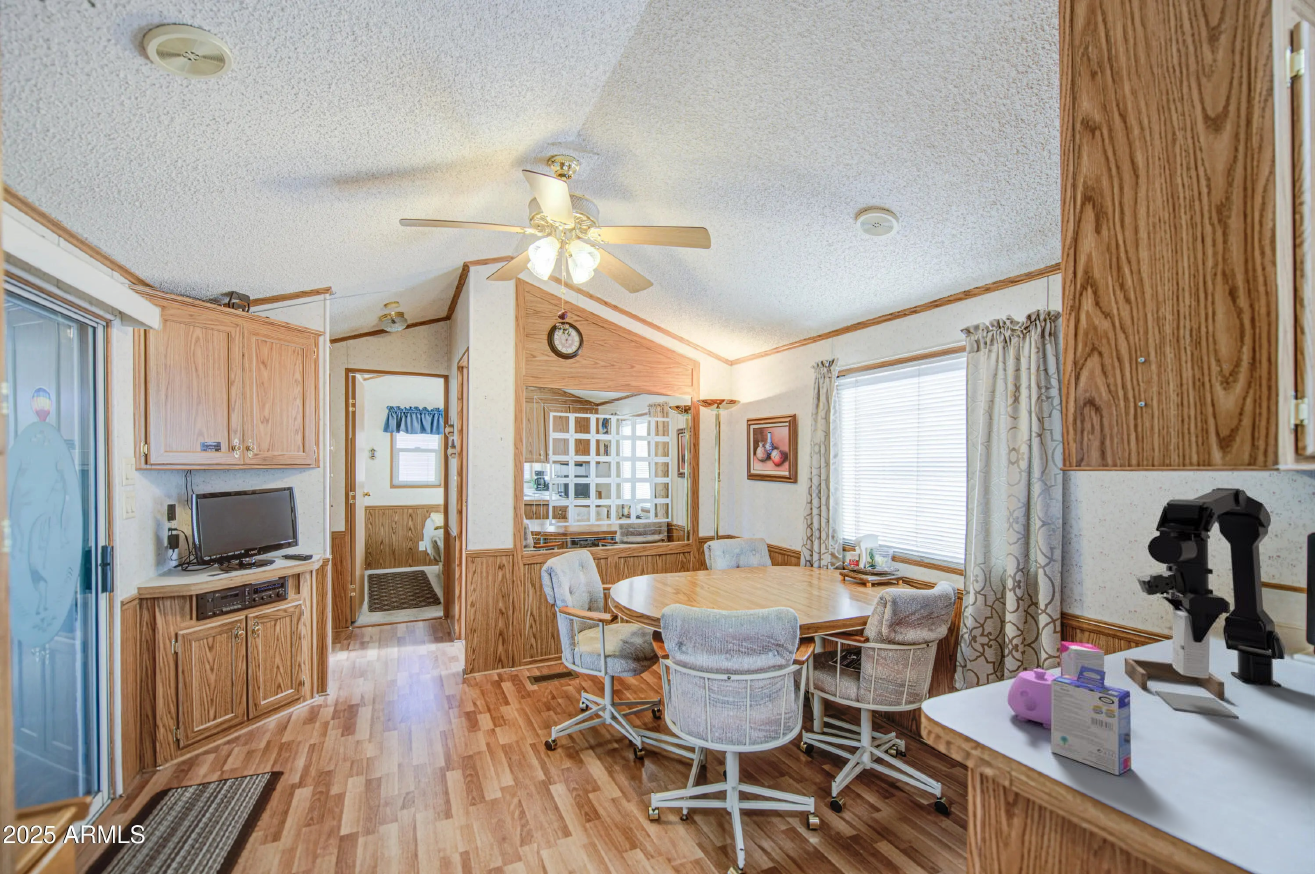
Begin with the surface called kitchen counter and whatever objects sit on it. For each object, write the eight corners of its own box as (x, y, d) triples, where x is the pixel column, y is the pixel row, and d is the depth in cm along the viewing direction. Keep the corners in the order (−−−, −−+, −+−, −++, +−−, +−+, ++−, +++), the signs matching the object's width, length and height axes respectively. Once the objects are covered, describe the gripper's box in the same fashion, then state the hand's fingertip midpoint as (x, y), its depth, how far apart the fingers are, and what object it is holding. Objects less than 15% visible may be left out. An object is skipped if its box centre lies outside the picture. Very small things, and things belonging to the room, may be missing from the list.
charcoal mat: (1154, 692, 129) (1154, 690, 129) (1214, 699, 125) (1214, 697, 125) (1173, 709, 120) (1173, 707, 120) (1238, 718, 116) (1238, 716, 116)
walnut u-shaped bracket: (1124, 672, 141) (1124, 657, 141) (1201, 682, 136) (1200, 666, 136) (1141, 688, 131) (1141, 672, 131) (1224, 699, 126) (1224, 682, 126)
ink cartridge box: (1133, 767, 97) (1132, 675, 97) (1121, 777, 93) (1119, 682, 94) (1063, 743, 105) (1062, 658, 105) (1050, 752, 101) (1049, 664, 102)
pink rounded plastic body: (1084, 720, 115) (1083, 670, 115) (1055, 742, 105) (1054, 688, 106) (1023, 702, 123) (1023, 656, 123) (992, 721, 113) (991, 671, 114)
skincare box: (1171, 667, 127) (1170, 608, 128) (1198, 670, 125) (1197, 611, 126) (1183, 676, 122) (1182, 614, 122) (1212, 679, 120) (1210, 617, 120)
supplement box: (1106, 709, 120) (1105, 651, 120) (1072, 706, 121) (1071, 648, 121) (1091, 698, 125) (1090, 642, 126) (1059, 696, 126) (1058, 640, 127)
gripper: (1127, 552, 136) (1127, 622, 136) (1157, 564, 119) (1158, 644, 118) (1189, 556, 132) (1190, 628, 131) (1230, 569, 115) (1232, 653, 114)
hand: (1190, 638), depth 124 cm, fingers closed on skincare box, 6 cm apart
